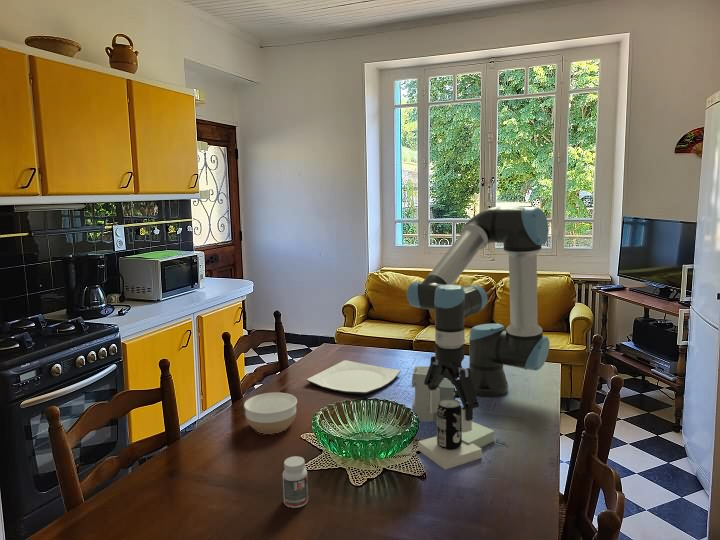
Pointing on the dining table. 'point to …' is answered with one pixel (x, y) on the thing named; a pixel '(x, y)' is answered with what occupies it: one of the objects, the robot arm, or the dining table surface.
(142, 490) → the dining table surface
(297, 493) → the pill bottle
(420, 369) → the circuit breaker
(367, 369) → the plate
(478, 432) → the stand
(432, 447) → the stand
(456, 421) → the beverage can
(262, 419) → the bowl
